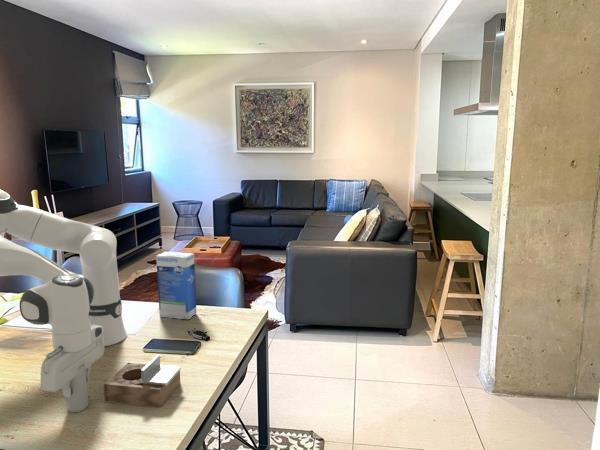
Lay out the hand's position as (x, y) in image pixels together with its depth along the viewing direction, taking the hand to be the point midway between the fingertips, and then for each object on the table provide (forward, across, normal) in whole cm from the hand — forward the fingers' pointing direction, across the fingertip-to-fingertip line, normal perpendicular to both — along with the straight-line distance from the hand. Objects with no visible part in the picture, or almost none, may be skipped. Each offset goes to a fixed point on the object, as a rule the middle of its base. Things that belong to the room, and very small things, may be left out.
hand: (76, 389), depth 113 cm
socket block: (+5, +10, -13) cm, 17 cm away
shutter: (0, +10, -19) cm, 21 cm away
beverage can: (+6, 0, 0) cm, 6 cm away
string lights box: (+6, +65, +2) cm, 65 cm away
